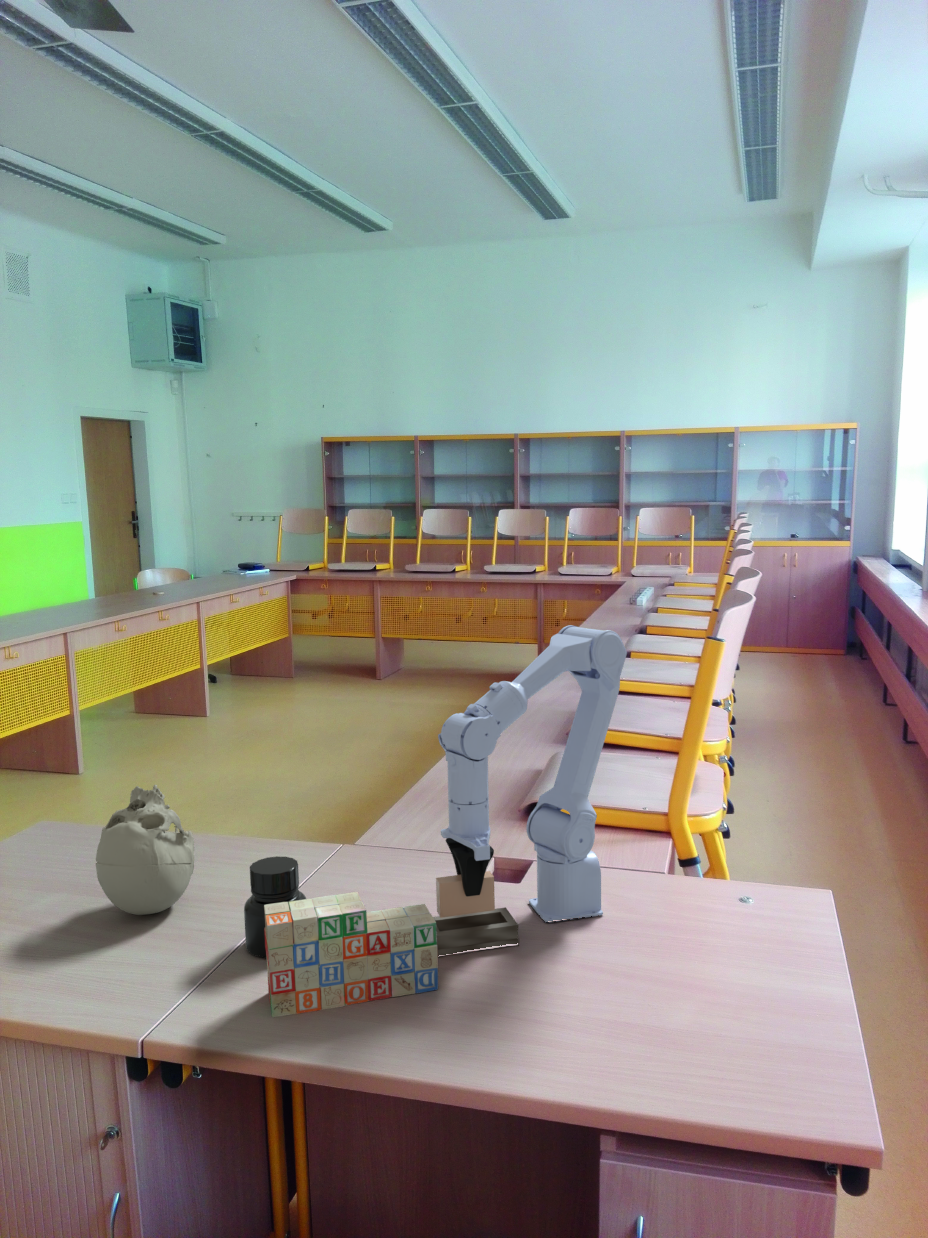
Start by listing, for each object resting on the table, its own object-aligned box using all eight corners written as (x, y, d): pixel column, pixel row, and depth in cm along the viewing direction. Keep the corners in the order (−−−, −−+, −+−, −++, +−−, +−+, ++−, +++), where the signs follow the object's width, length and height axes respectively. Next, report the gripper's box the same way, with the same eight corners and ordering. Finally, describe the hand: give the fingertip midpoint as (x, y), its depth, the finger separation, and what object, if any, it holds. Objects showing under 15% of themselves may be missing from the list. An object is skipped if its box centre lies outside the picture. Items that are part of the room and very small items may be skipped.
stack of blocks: (427, 968, 123) (425, 881, 122) (438, 991, 117) (436, 900, 116) (267, 994, 117) (263, 903, 116) (270, 1019, 111) (266, 923, 110)
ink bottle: (293, 964, 125) (289, 880, 123) (234, 959, 127) (229, 876, 125) (318, 932, 134) (315, 854, 133) (263, 928, 136) (259, 851, 135)
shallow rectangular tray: (505, 926, 135) (505, 907, 135) (519, 945, 129) (518, 925, 129) (424, 937, 132) (423, 917, 132) (434, 958, 126) (433, 937, 125)
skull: (205, 894, 149) (199, 775, 146) (167, 936, 134) (159, 805, 132) (131, 892, 150) (124, 774, 148) (85, 933, 135) (76, 803, 133)
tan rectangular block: (490, 904, 132) (489, 871, 131) (494, 910, 130) (494, 876, 129) (436, 911, 130) (435, 878, 129) (440, 918, 128) (439, 884, 127)
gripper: (429, 786, 134) (431, 875, 136) (453, 817, 120) (455, 915, 122) (475, 782, 136) (477, 869, 137) (504, 812, 122) (505, 909, 123)
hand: (470, 891), depth 130 cm, fingers closed on tan rectangular block, 2 cm apart
